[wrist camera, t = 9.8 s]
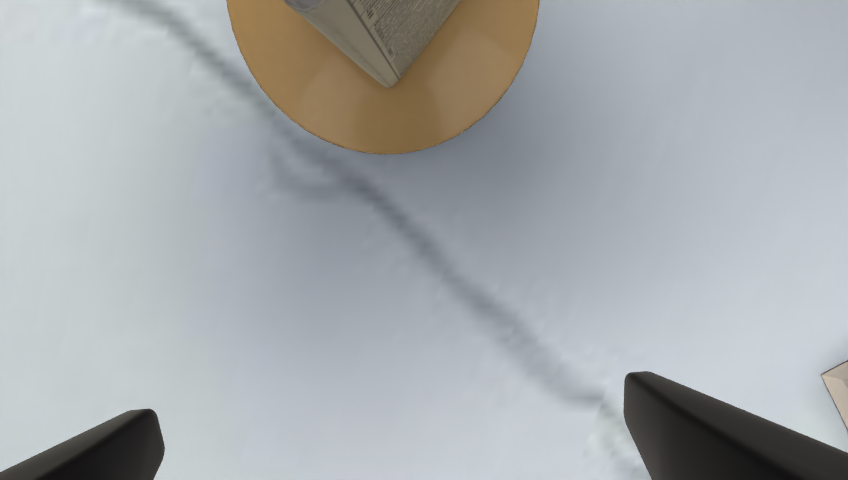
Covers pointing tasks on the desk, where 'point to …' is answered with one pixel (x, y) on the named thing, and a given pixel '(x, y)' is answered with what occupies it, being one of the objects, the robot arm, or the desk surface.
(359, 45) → the box
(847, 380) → the book
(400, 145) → the tin
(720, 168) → the desk surface
